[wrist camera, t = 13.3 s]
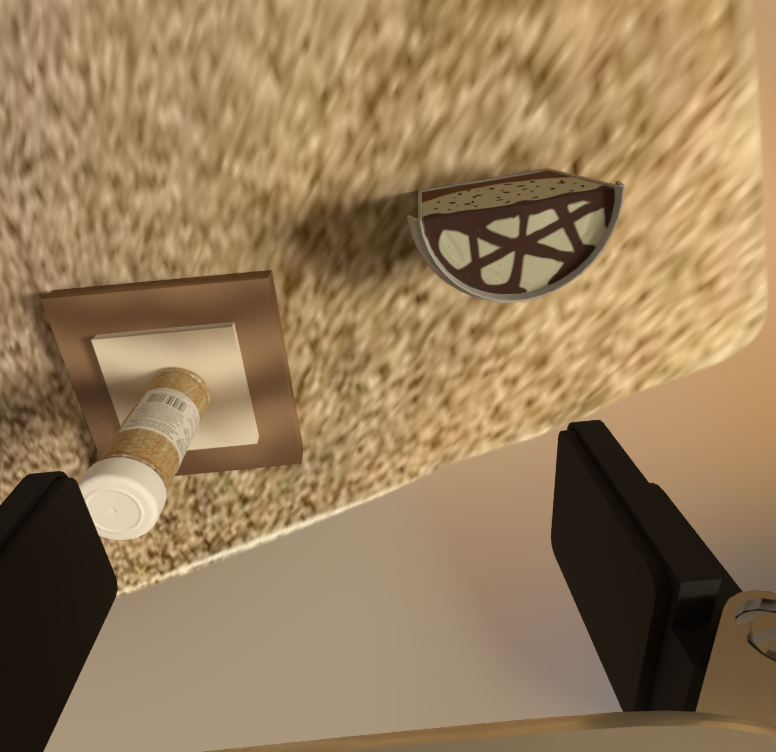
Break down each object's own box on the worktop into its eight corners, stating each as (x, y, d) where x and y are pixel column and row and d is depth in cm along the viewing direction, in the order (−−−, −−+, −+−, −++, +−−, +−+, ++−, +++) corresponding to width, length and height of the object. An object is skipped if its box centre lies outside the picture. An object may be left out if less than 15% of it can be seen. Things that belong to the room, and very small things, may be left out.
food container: (408, 277, 42) (423, 326, 33) (396, 193, 40) (409, 222, 31) (570, 250, 42) (629, 293, 33) (570, 164, 39) (634, 185, 30)
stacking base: (54, 290, 41) (33, 304, 39) (271, 270, 41) (266, 282, 39) (118, 467, 48) (104, 489, 46) (303, 449, 49) (300, 470, 46)
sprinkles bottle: (139, 397, 42) (53, 519, 30) (169, 353, 41) (91, 462, 29) (193, 428, 44) (132, 556, 32) (224, 387, 42) (172, 504, 30)
